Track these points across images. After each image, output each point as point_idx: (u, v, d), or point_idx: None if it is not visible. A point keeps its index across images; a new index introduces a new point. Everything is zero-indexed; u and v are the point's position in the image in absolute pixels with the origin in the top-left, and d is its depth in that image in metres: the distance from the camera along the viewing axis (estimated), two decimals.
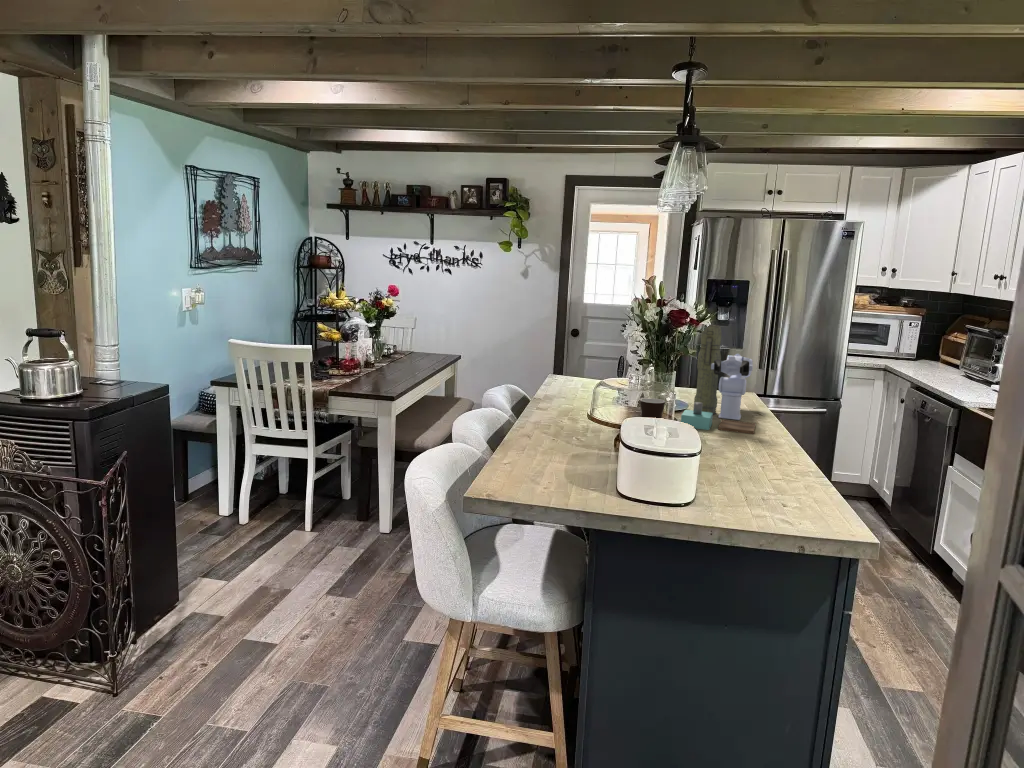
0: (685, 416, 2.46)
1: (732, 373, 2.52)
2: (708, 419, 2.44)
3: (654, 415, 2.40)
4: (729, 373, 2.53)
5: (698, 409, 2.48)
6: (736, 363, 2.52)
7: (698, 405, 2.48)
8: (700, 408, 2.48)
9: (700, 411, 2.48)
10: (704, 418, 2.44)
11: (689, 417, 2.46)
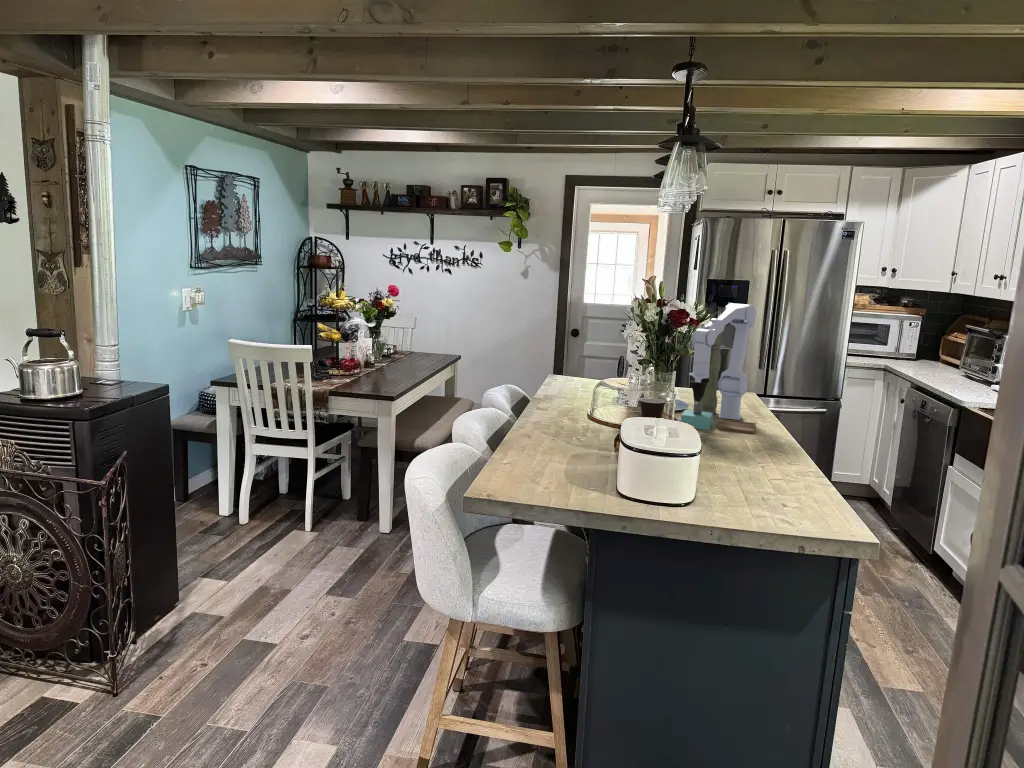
0: (685, 416, 2.46)
1: None
2: (708, 419, 2.44)
3: (654, 415, 2.40)
4: None
5: (698, 409, 2.48)
6: None
7: (698, 405, 2.48)
8: (700, 408, 2.48)
9: (700, 411, 2.48)
10: (704, 418, 2.44)
11: (689, 417, 2.46)
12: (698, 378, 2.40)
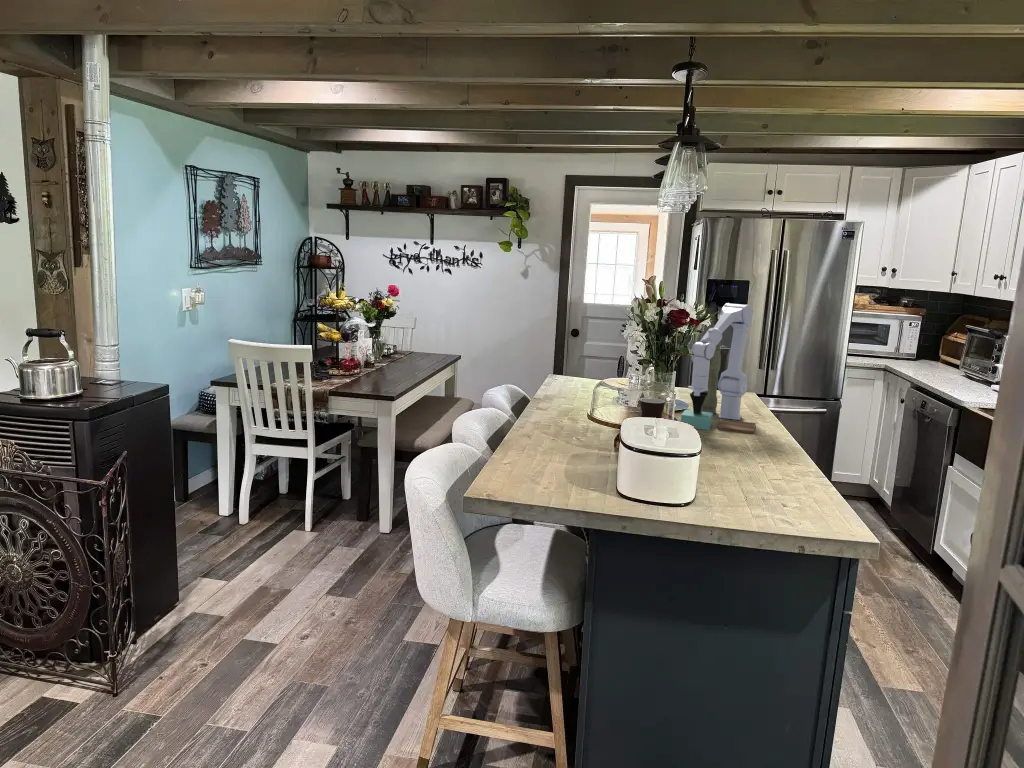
0: (685, 416, 2.46)
1: None
2: (708, 419, 2.44)
3: (654, 415, 2.40)
4: None
5: None
6: None
7: None
8: None
9: (700, 411, 2.48)
10: (704, 418, 2.44)
11: (689, 417, 2.46)
12: (697, 392, 2.41)
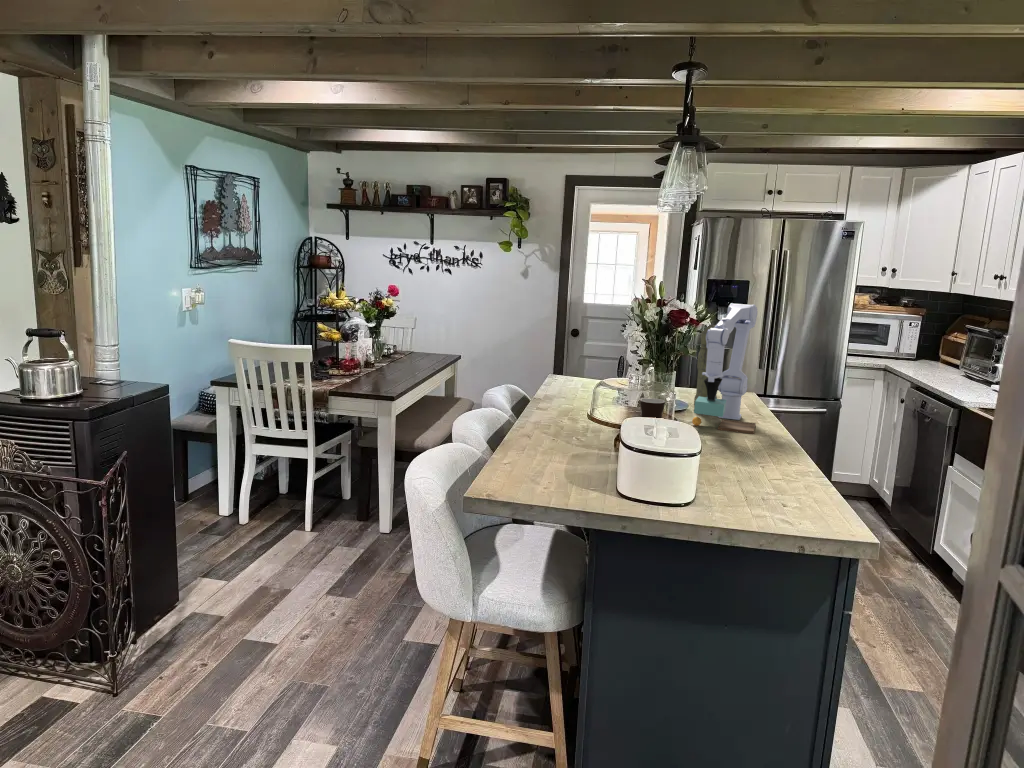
0: (699, 402, 2.45)
1: None
2: (722, 406, 2.42)
3: (654, 415, 2.40)
4: None
5: None
6: None
7: None
8: None
9: None
10: (718, 405, 2.43)
11: (703, 403, 2.44)
12: (711, 378, 2.40)
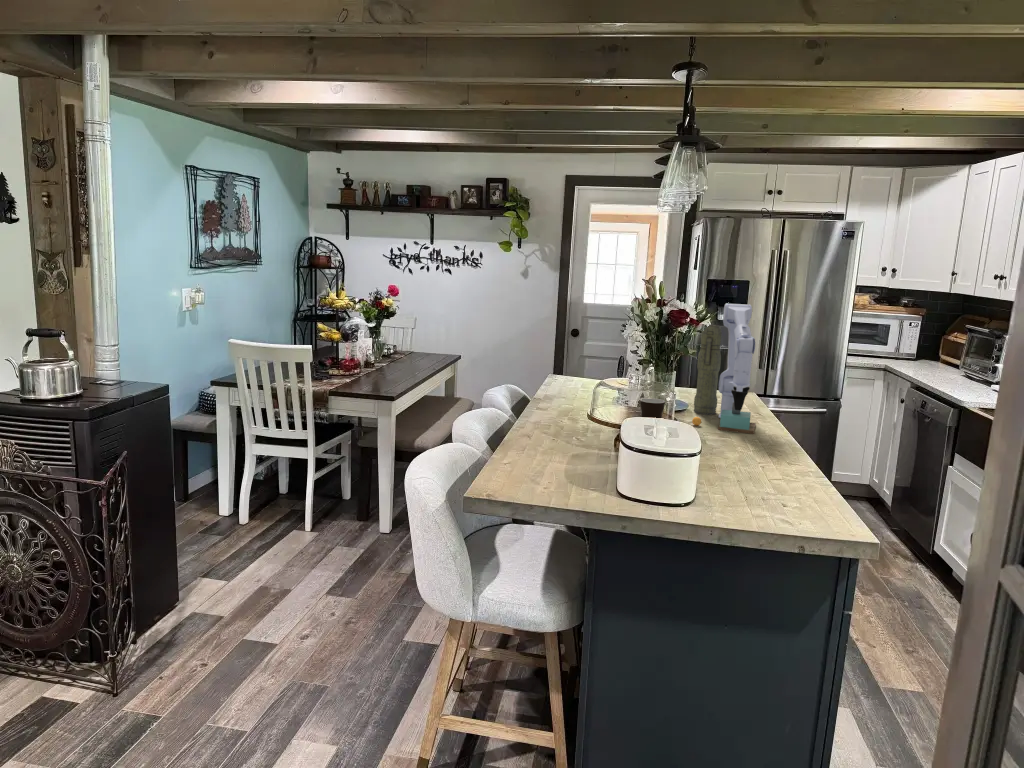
0: (725, 416, 2.44)
1: None
2: (748, 419, 2.41)
3: (654, 415, 2.40)
4: None
5: None
6: None
7: None
8: None
9: (739, 411, 2.46)
10: (744, 418, 2.42)
11: (729, 417, 2.44)
12: (740, 387, 2.39)
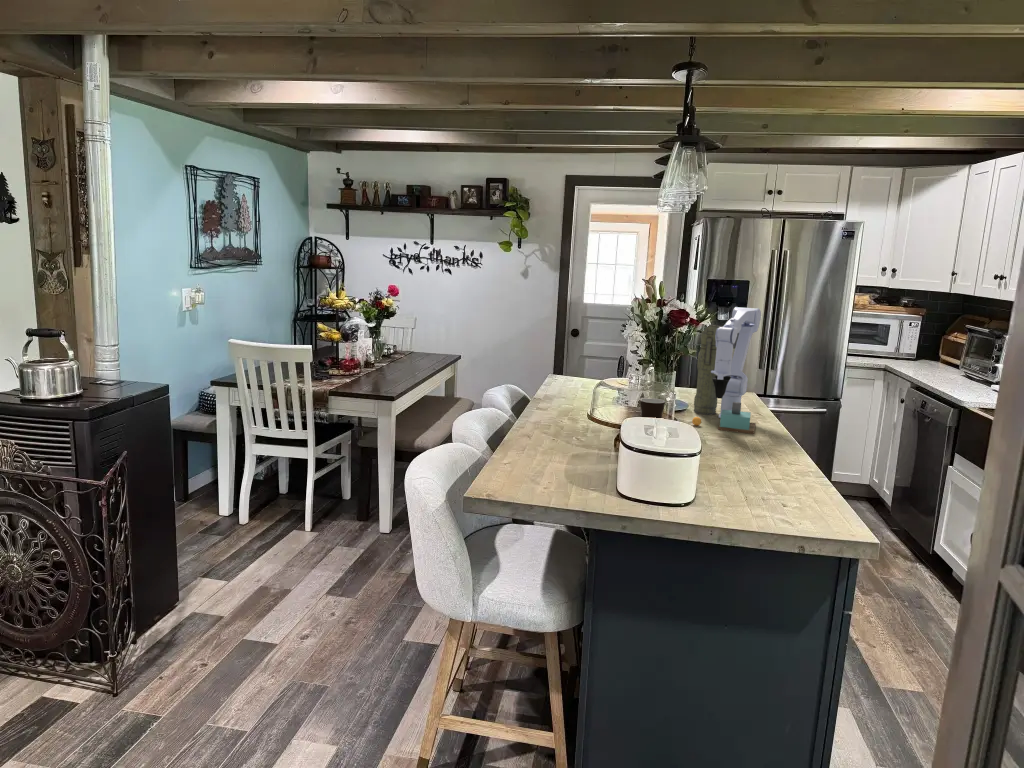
0: (725, 416, 2.44)
1: None
2: (748, 419, 2.41)
3: (654, 415, 2.40)
4: None
5: (737, 409, 2.46)
6: None
7: (737, 405, 2.45)
8: (739, 408, 2.46)
9: (739, 411, 2.46)
10: (744, 418, 2.42)
11: (729, 417, 2.44)
12: (720, 375, 2.44)
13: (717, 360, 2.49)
